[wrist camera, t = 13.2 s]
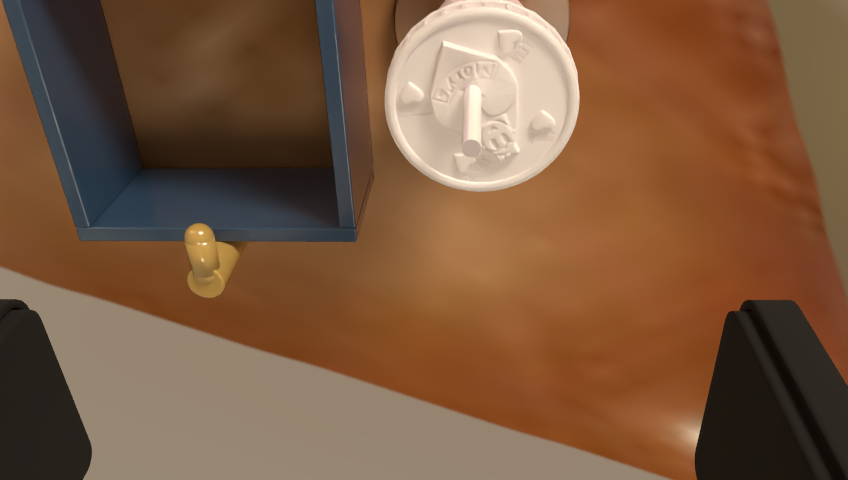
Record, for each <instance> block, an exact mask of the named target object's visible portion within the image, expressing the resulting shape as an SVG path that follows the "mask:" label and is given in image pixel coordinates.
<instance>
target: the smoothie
mask: <svg viewBox="0 0 848 480" xmlns="http://www.w3.org/2000/svg"><path fill="white" fill-rule="evenodd" d="M578 110H579V85H578V73H577V70H576V67H575V64H574V61H573V58H572V55H571V52H570V49H569V48H568V46H567V45H566V44H565V42H564V41H563V39H562V38H561V36H560V35H559V34H558V32H557V31H556V29H555V28H554V27H553V26H551V25H550V24H549V23H548V22H546V21H545V20H544V19H543V18H541V17H540V16H539V15H538V14H536V13H535V12H533V11H531V10H529V9H526V8H524V7H523V5H522V4H521V3H520V2H519V1H518V0H445V1H444V3H443V4H442V5H441V6H440V8H439V9H438V10H436V11H434V12H432V13H430V14H429V15H428V16H427V17H425V18H424V19H423V20H421V21H420V22H419V23H418V24H416V25H415V26H414V27H413V28H411V30H410V31H409V32H408V34H407V35H406V36H405V38H404V39H403V40H402V42H401V43H400V45H399V46H398V47H397V49H396V51H395V54H394V56H393V59H392V61H391V64H390V67H389V69H388V72H387V82H386V88H385V113H386V119H387V123H388V127H389V129H390V132H391V135H392V137H393V139H394V141H395V143H396V145H397V146H398V148H399V150H400V151H401V152H402V154H403V155H404V156H405V157H406V159H407V160H408V161H409V162H410V163H411V164H412V165H413V166H414V167H415V168H416V169H418V170H419V171H420V172H422V173H423V174H424V175H426V176H428V177H429V178H431V179H433V180H435V181H437V182H439V183H441V184H444V185H446V186H449V187H452V188H456V189H461V190H467V191H481V192H482V191H494V190H501V189H505V188H509V187H512V186H515V185H518V184H520V183H522V182H525V181H527V180H529V179H530V178H532V177H534V176H535V175H537V174H538V173H540V172H541V171H543V170H544V169H545V168H546V167H548V166H549V165H550V164H551V163H552V162H553V161H554V160H555V159H556V157H557V156H558V155H559V154H560V153H561V151H562V150H563V148H564V147H565V145H566V144H567V142H568V140H569V138H570V136H571V134H572V132H573V129H574V126H575V123H576V120H577V115H578Z"/></svg>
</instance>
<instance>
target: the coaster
mask: <svg viewBox="0 0 848 480" xmlns="http://www.w3.org/2000/svg"><path fill="white" fill-rule="evenodd" d="M444 1H445V0H397V2H396V9H395V34H396V40H397V44H398V46H399V45H400V43H401V42H402V40H403V39H404V38H405V36H406V35H407V34H408V32H409V31H410V30H411V28H413V27H414V26H415V25H416V24H418V23H419V22H420V21H421V20H423V19H424V18H425V17H427V16H428V15H429V14H430V13H432V12H434V11H436V10H438V9H439V8H440V6H441V5H442V4H443V3H444ZM518 1H519V2H520V3H521V4H522V5H523V7H524V8H526V9H529V10H531V11H533V12H535V13H536V14H538V15H539V16H540V17H541V18H543V19H544V20H545V21H546V22H548V23H549V24H550V25H551V26H553V27H554V28H555V29H556V31H557V32H558V34H559V35H560V36H561V38H562V39H563V41H564V42H565V44H566V42H567V39H568V35H569V28H570V7H569V0H518Z"/></svg>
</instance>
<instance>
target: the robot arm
mask: <svg viewBox="0 0 848 480" xmlns="http://www.w3.org/2000/svg"><path fill="white" fill-rule="evenodd" d="M91 456H92V448H91V443H90V440H89V438H88V435H87V433H86V431H85V428H84V426H83V423H82V420H81V418H80V415H79V413H78V411H77V408H76V406H75V403H74V400H73V398H72V395H71V393H70V390H69V388H68V385H67V383H66V380H65V378H64V375H63V373H62V370H61V368H60V365H59V363H58V360H57V358H56V356H55V353H54V351H53V348H52V345H51V343H50V340H49V338H48V335H47V333H46V330H45V328H44V325H43V323H42V320H41V318H40V316H39V315H38V314H37V313H36V312H35V311H33V310H29V308H28V306H27V305H26V304H25V303H24V302H23V301H21V300H16V299H14V300H13V299H10V300H9V299H0V480H83V478H84V476H85V474H86V473H87V471H88V468H89V466H90V462H91ZM695 470H696V476H697V480H848V386H847V385H846V383H845V381H844V380H843V378H842V376H841V375H840V373H839V372H838V370H837V368H836V367H835V365H834V363H833V362H832V360H831V358H830V357H829V355H828V354H827V352H826V350H825V349H824V347H823V345H822V344H821V342H820V341H819V339H818V337H817V336H816V334H815V332H814V331H813V329H812V327H811V326H810V324H809V323H808V321H807V319H806V318H805V316H804V314H803V313H802V311H801V309H800V308H799V306H798V305H797V304H796V303H795V302H794V301H791V300H747V301H744V303H743V304H742V305H741V308H740V311H731V312H729V313H728V314H727V316H726V319H725V323H724V328H723V332H722V337H721V341H720V346H719V350H718V354H717V359H716V363H715V368H714V372H713V376H712V381H711V385H710V390H709V394H708V398H707V403H706V407H705V412H704V416H703V420H702V425H701V429H700V434H699V438H698V443H697V447H696V452H695Z"/></svg>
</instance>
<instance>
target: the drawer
mask: <svg viewBox="0 0 848 480" xmlns="http://www.w3.org/2000/svg"><path fill="white" fill-rule="evenodd" d="M2 3H3V6H4V9H5V12H6V15H7V18H8V21H9V24H10V27H11V30H12V33H13V36H14V39H15V42H16V46H17V49H18V52H19V55H20V58H21V61H22V64H23V67H24V70H25V73H26V76H27V79H28V82H29V85H30V89H31V92H32V95H33V98H34V101H35V104H36V107H37V110H38V113H39V116H40V119H41V122H42V125H43V128H44V132H45V135H46V138H47V141H48V144H49V147H50V150H51V153H52V156H53V159H54V162H55V165H56V168H57V171H58V174H59V178H60V181H61V184H62V187H63V190H64V193H65V196H66V199H67V202H68V205H69V208H70V211H71V214H72V217H73V221H74V224H75V226H76V227H77V228H76V230H77V233H78V236H79V239H80V241H184V242H185V246H186V250H187V255H188V259H189V263H190V267H191V270H190V272H189V273H188V276H187V282H188V285H189V287H190V289H191V290H192V291H193V292H194V293H195V294H197V295H199V296H201V297H204V298H214V297H217V296H219V295H220V294H221V293H222V292H223V291H224V289H225V287H226V285H227V283H228V281H229V279H230V277H231V275H232V273H233V271H234V269H235V267H236V265H237V263H238V261H239V259H240V257H241V255H242V254H243V252H244V250H245V248H246V246H247V244H248V242H249V241H308V242H356V241H357V239H358V236H359V232H360V228H361V225H362V221H363V217H364V214H365V210H366V206H367V202H368V199H369V195H370V191H371V188H372V184H373V180H374V173H373V160H372V148H371V135H370V122H369V110H368V97H367V85H366V72H365V60H364V47H363V35H362V22H361V9H360V0H315V6H316V15H317V24H318V33H319V42H320V51H321V61H322V70H323V79H324V88H325V97H326V106H327V115H328V124H329V133H330V142H331V151H332V160H333V168H142V167H143V166H142V162H141V159H140V155H139V151H138V147H137V143H136V139H135V135H134V132H133V128H132V124H131V120H130V116H129V112H128V108H127V104H126V101H125V97H124V93H123V89H122V85H121V81H120V77H119V74H118V70H117V66H116V62H115V58H114V54H113V50H112V46H111V43H110V39H109V35H108V31H107V27H106V23H105V19H104V15H103V12H102V8H101V4H100V0H2Z"/></svg>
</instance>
